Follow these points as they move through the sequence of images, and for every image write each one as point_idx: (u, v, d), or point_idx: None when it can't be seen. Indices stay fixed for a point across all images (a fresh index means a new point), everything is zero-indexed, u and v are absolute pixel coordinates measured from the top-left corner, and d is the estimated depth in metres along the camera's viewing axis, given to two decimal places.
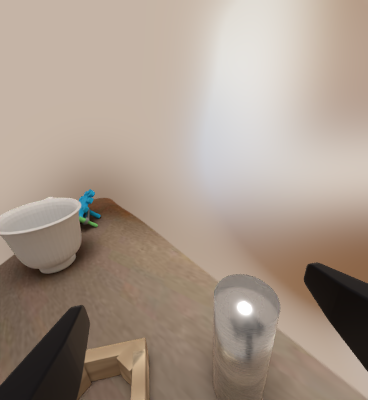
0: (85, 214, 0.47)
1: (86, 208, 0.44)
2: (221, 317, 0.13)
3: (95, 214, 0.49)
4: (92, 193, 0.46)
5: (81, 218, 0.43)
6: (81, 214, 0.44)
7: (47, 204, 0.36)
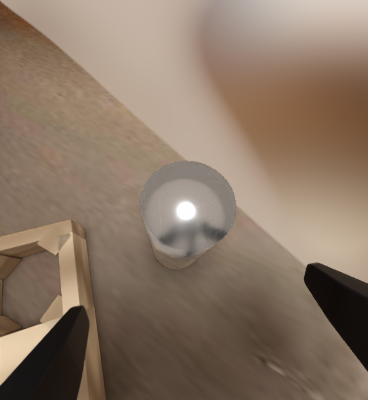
0: None
1: None
2: (149, 231, 0.09)
3: None
4: None
5: None
6: None
7: None
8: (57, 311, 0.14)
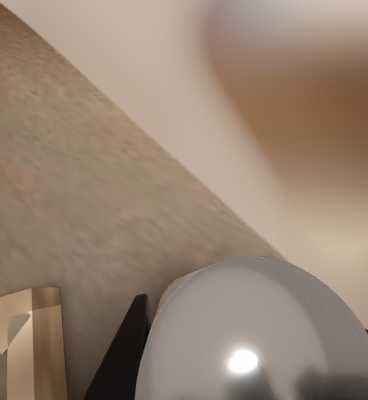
0: None
1: None
2: None
3: None
4: None
5: None
6: None
7: None
8: None
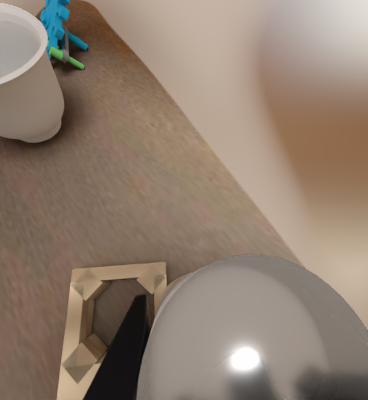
0: (61, 40, 0.29)
1: (59, 31, 0.26)
2: None
3: (78, 42, 0.31)
4: None
5: (55, 51, 0.26)
6: (54, 40, 0.27)
7: None
8: None
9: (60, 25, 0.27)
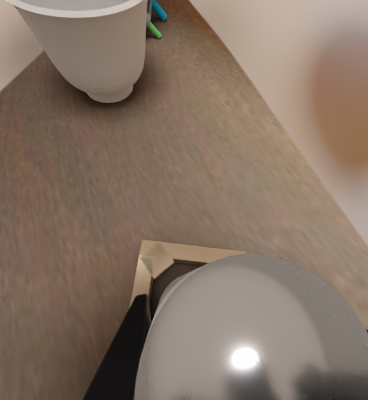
0: None
1: None
2: None
3: (159, 10, 0.29)
4: None
5: None
6: None
7: None
8: None
9: None
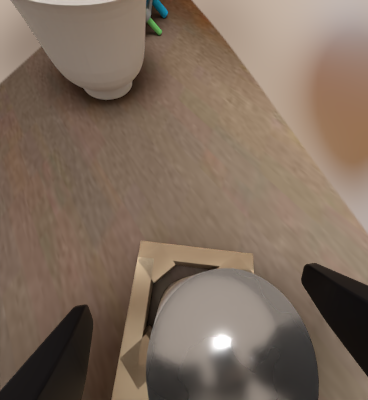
0: None
1: None
2: None
3: (160, 7, 0.29)
4: None
5: None
6: None
7: None
8: None
9: None
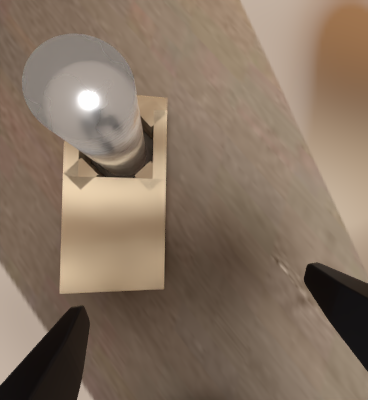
0: None
1: None
2: (43, 123, 0.08)
3: None
4: None
5: None
6: None
7: None
8: (148, 173, 0.16)
9: None
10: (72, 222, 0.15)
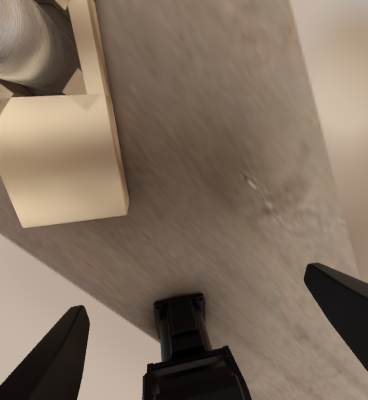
0: None
1: None
2: None
3: None
4: None
5: None
6: None
7: None
8: (79, 87, 0.13)
9: None
10: (6, 157, 0.14)
